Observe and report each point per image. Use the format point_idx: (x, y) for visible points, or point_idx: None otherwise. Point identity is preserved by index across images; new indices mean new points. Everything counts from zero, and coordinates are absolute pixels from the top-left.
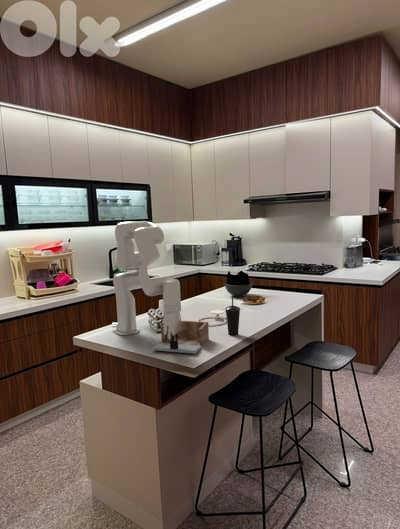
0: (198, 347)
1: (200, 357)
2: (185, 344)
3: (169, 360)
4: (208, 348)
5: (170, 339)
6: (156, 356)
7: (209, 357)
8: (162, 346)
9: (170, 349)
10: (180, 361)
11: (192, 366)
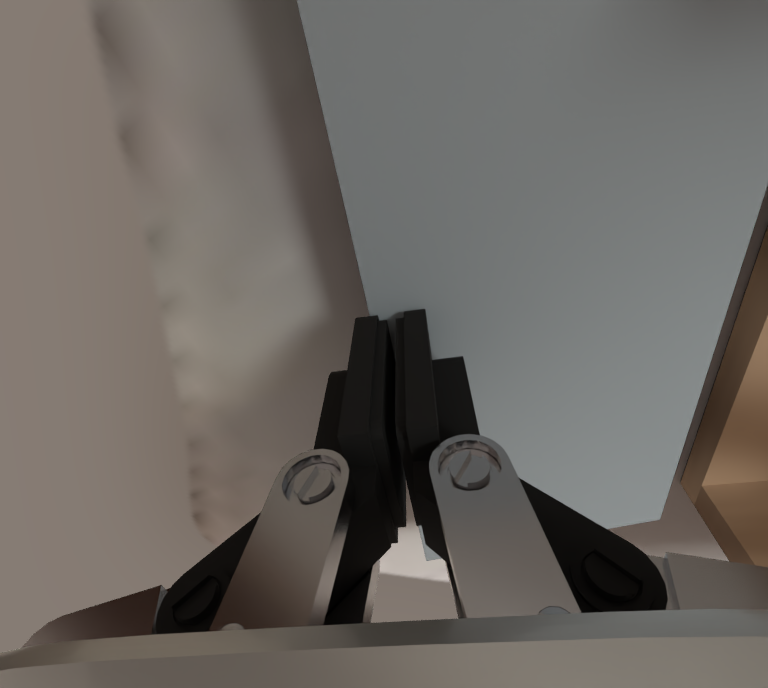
0: None
1: (417, 535)
2: (763, 331)
3: (192, 349)
4: (666, 523)
5: (245, 536)
6: (176, 80)
7: (443, 574)
8: (472, 31)
9: (368, 304)
10: (245, 448)
11: (220, 544)
